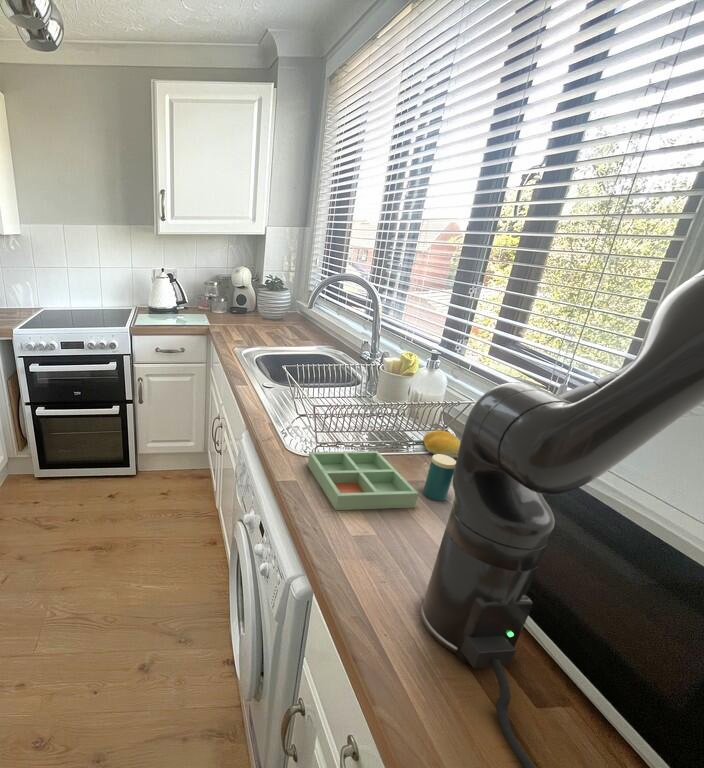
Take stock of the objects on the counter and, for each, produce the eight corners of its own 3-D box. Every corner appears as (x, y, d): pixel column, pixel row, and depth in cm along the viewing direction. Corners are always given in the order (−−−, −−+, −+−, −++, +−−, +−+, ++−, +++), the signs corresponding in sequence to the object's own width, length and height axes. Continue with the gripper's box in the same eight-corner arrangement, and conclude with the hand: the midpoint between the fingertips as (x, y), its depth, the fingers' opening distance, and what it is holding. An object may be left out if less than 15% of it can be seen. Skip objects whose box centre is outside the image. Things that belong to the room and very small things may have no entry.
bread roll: (428, 456, 95) (431, 441, 94) (419, 438, 103) (423, 424, 102) (468, 462, 93) (473, 447, 91) (456, 444, 101) (460, 429, 99)
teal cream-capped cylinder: (450, 500, 80) (461, 464, 77) (431, 501, 79) (441, 465, 76) (437, 488, 83) (447, 453, 81) (418, 488, 83) (428, 454, 80)
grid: (415, 507, 77) (418, 493, 76) (335, 510, 76) (338, 495, 75) (374, 463, 92) (377, 450, 91) (307, 465, 90) (309, 452, 89)
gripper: (609, 452, 61) (495, 495, 70) (575, 416, 73) (481, 456, 82) (576, 412, 62) (467, 460, 70) (548, 383, 74) (457, 426, 82)
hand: (475, 458), depth 76 cm, fingers open, 8 cm apart
